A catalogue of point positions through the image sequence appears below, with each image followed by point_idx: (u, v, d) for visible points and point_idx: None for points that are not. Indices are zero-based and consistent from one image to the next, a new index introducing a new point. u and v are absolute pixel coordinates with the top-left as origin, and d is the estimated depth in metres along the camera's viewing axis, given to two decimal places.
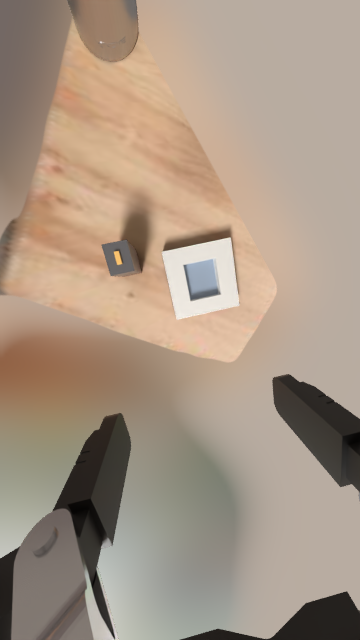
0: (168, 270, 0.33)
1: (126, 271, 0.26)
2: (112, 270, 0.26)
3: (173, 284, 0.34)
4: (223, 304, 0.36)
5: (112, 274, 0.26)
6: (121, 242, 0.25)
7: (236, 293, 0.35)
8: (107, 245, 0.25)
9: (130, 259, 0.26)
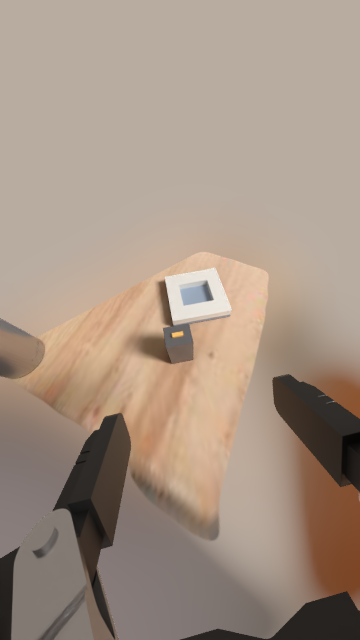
0: (187, 316, 0.38)
1: (189, 329, 0.29)
2: (187, 340, 0.28)
3: (199, 312, 0.38)
4: (215, 277, 0.43)
5: (191, 341, 0.28)
6: (165, 331, 0.29)
7: (205, 270, 0.44)
8: (166, 343, 0.28)
9: (179, 325, 0.30)
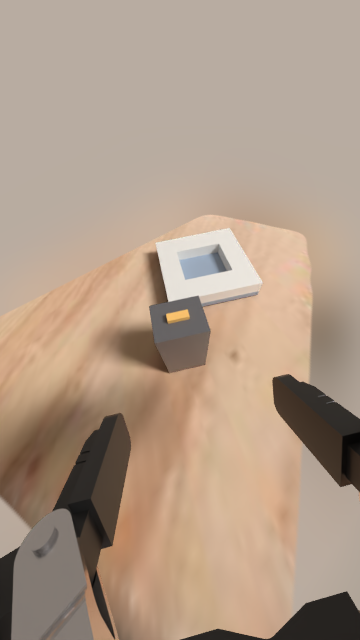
0: (193, 295, 0.24)
1: (200, 306, 0.15)
2: (199, 327, 0.14)
3: (211, 288, 0.24)
4: (230, 240, 0.29)
5: (207, 328, 0.14)
6: (153, 312, 0.15)
7: (215, 231, 0.30)
8: (156, 333, 0.14)
9: (180, 301, 0.15)
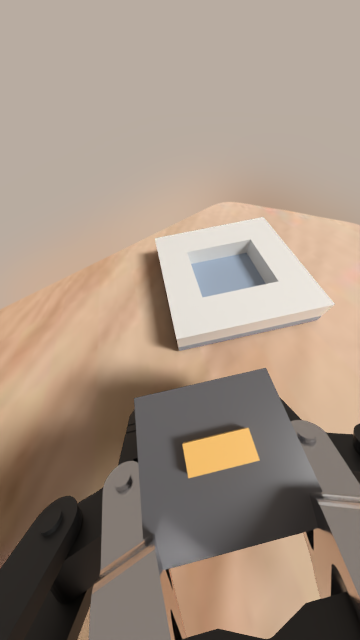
0: (217, 324, 0.14)
1: (278, 408, 0.05)
2: (292, 498, 0.04)
3: (248, 313, 0.14)
4: (268, 234, 0.19)
5: None
6: (143, 424, 0.05)
7: (243, 222, 0.21)
8: (152, 521, 0.04)
9: (218, 384, 0.06)
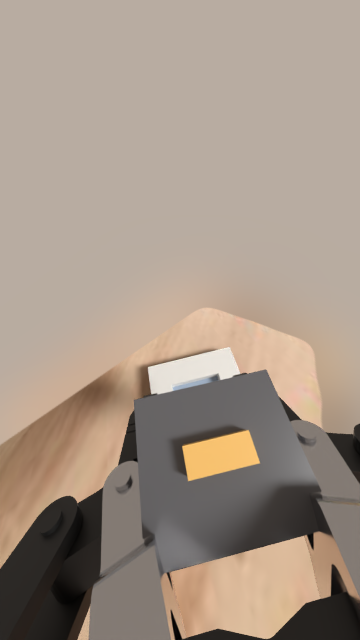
0: None
1: (278, 410, 0.05)
2: (293, 501, 0.04)
3: None
4: (231, 368, 0.26)
5: None
6: (143, 426, 0.05)
7: (214, 352, 0.27)
8: (152, 523, 0.04)
9: (218, 386, 0.06)
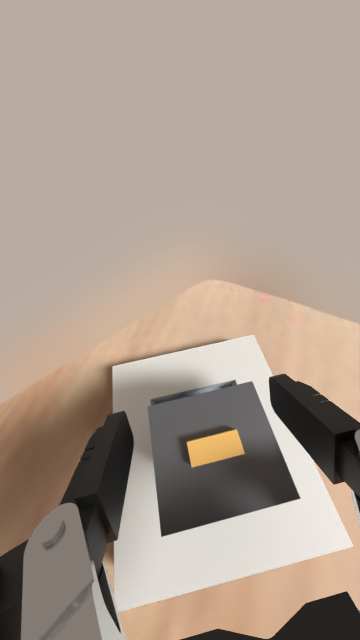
0: (178, 580, 0.09)
1: (261, 414, 0.07)
2: (269, 482, 0.06)
3: (225, 556, 0.10)
4: (258, 371, 0.15)
5: (290, 487, 0.06)
6: (155, 427, 0.07)
7: (227, 343, 0.16)
8: (165, 499, 0.06)
9: (214, 395, 0.07)
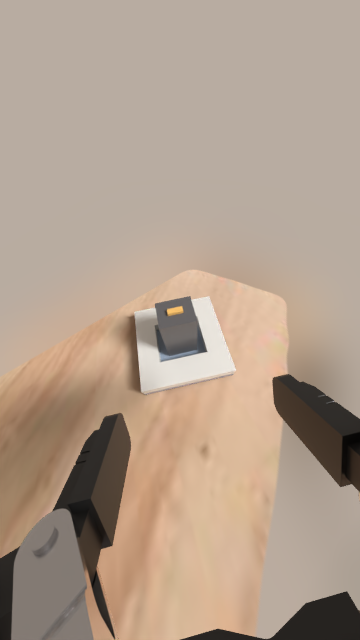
0: (166, 382, 0.24)
1: (191, 304, 0.21)
2: (189, 318, 0.20)
3: (185, 375, 0.24)
4: (208, 312, 0.29)
5: (195, 319, 0.20)
6: (157, 308, 0.21)
7: (195, 300, 0.30)
8: (160, 322, 0.20)
9: (176, 300, 0.22)
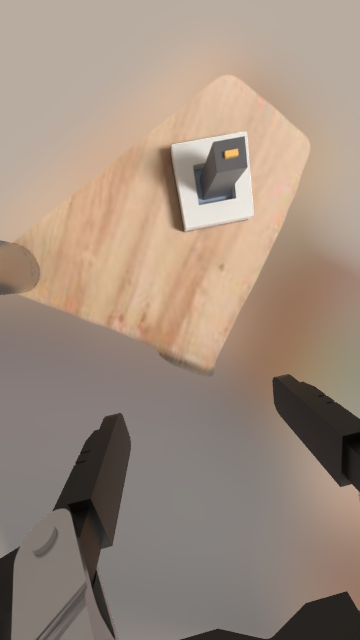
0: (203, 222, 0.33)
1: (244, 147, 0.24)
2: (241, 163, 0.25)
3: (217, 217, 0.33)
4: None
5: (246, 164, 0.25)
6: (215, 148, 0.24)
7: (232, 135, 0.30)
8: (217, 166, 0.24)
9: (232, 140, 0.24)
